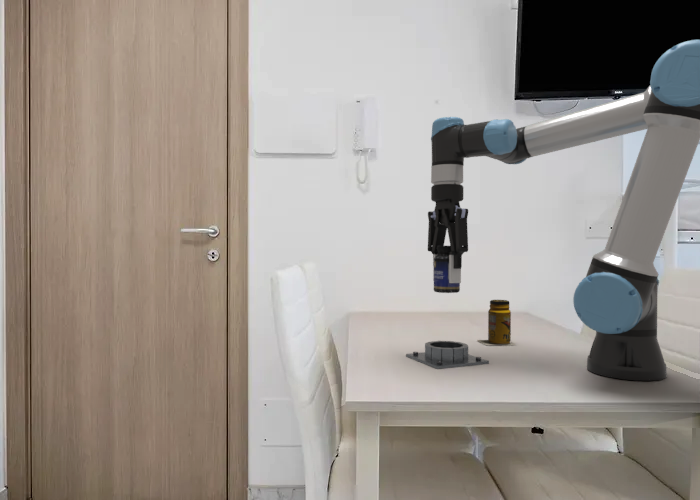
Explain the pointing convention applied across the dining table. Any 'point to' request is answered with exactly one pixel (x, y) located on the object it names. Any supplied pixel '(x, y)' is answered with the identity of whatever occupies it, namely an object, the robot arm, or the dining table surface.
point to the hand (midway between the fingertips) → (446, 281)
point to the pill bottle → (443, 272)
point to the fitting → (446, 355)
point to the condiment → (498, 324)
